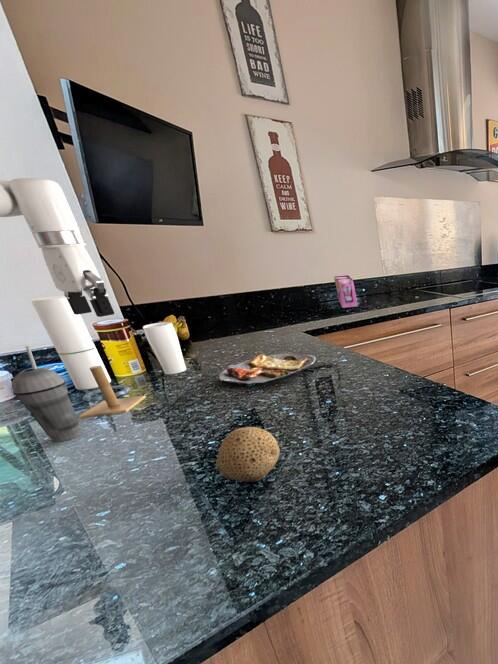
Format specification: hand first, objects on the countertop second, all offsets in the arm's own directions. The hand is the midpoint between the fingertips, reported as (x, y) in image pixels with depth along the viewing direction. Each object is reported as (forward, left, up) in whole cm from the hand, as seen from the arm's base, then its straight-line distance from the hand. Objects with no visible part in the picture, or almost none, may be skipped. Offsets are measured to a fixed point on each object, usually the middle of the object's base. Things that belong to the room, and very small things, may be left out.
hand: (94, 314), depth 96 cm
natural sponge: (+43, -55, -22) cm, 73 cm away
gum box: (+47, +108, -22) cm, 120 cm away
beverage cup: (-1, -23, -22) cm, 31 cm away
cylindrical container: (-14, +11, -22) cm, 28 cm away
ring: (-6, +1, -21) cm, 22 cm away
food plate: (+32, +4, -22) cm, 39 cm away
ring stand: (+1, -10, -22) cm, 24 cm away
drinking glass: (+4, +15, -22) cm, 27 cm away
